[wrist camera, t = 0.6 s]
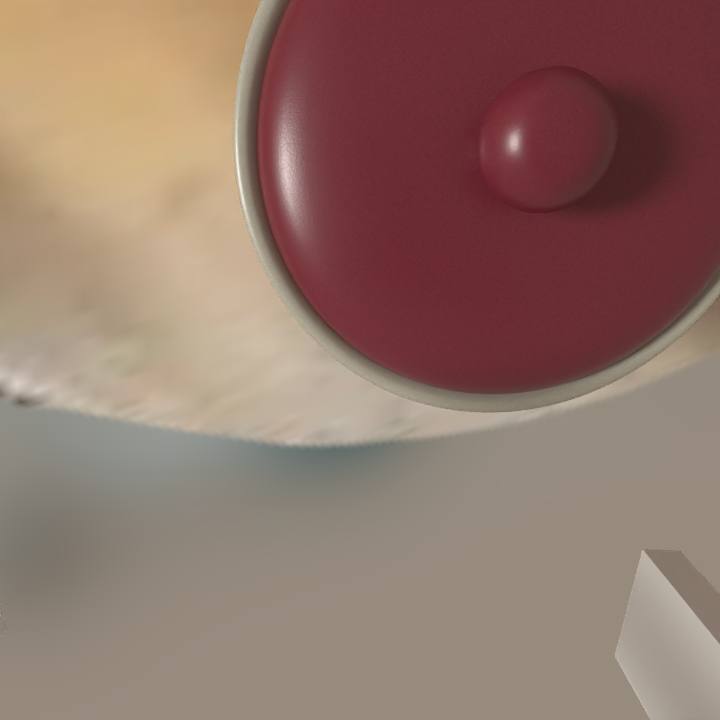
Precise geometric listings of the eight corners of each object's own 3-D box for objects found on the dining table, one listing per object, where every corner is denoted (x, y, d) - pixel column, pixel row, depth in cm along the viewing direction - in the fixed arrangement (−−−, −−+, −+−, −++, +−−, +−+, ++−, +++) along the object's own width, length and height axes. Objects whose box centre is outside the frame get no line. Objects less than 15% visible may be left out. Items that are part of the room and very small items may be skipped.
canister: (250, 91, 31) (33, -139, 10) (538, -34, 29) (958, -614, 8) (356, 357, 35) (347, 552, 15) (608, 265, 33) (981, 349, 13)
